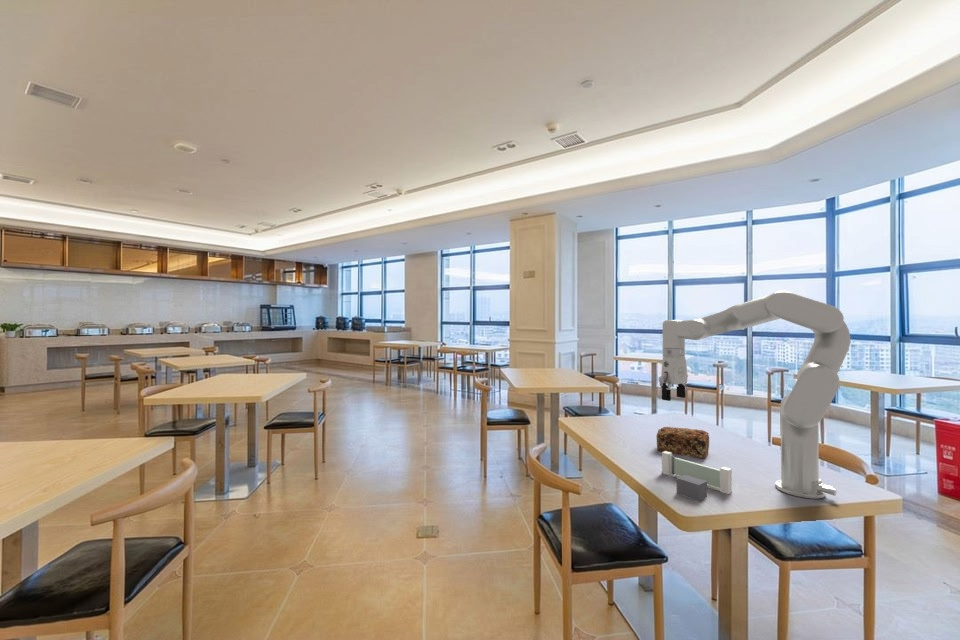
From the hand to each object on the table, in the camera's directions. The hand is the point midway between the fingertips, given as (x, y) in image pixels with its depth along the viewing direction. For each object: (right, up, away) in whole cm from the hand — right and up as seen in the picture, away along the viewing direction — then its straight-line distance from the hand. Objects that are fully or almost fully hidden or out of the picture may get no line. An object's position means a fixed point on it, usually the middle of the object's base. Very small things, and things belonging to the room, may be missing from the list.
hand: (673, 398), depth 152 cm
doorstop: (-6, -26, -24) cm, 36 cm away
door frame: (+1, -26, -14) cm, 29 cm away
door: (+1, -25, -14) cm, 29 cm away
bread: (+12, -26, +18) cm, 34 cm away
